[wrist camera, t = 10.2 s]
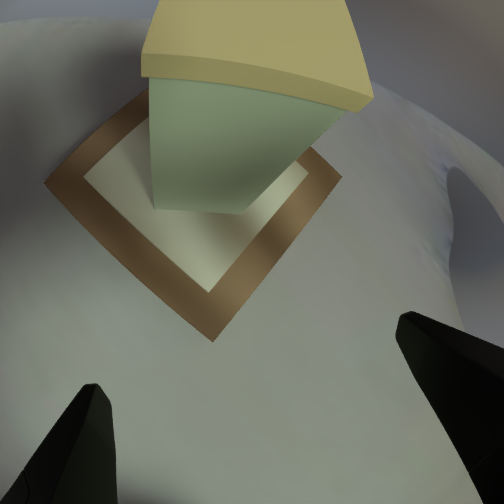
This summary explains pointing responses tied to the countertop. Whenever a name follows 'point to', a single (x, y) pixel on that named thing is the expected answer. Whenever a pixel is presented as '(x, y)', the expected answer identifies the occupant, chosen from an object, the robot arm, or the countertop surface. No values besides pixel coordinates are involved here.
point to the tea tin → (243, 94)
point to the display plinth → (184, 221)
